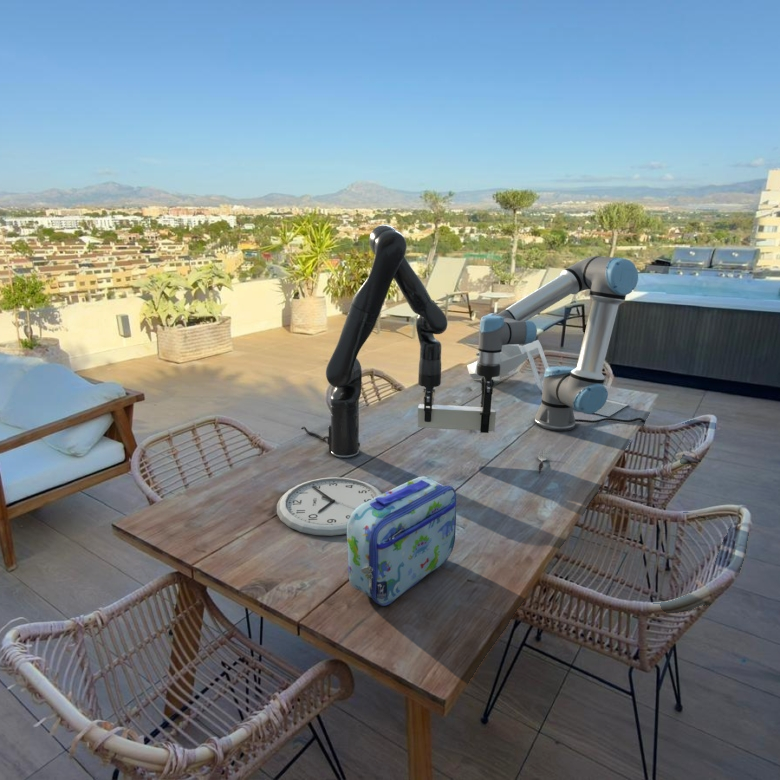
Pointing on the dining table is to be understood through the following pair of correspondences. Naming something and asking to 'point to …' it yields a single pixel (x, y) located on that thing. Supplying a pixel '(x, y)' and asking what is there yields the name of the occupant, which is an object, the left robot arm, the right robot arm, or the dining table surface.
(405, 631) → the dining table surface
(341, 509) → the wall clock
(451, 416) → the beam
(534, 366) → the white plastic object
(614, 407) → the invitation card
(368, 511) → the lunch box
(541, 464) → the fork
